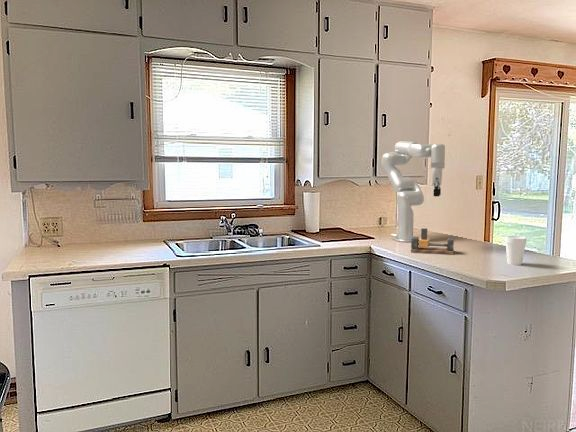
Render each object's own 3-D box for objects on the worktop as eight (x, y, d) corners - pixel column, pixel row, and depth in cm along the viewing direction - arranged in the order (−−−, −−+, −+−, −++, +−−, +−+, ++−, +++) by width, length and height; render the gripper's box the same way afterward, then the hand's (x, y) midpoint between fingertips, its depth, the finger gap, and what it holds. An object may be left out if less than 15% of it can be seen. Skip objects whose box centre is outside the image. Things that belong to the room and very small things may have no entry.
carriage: (418, 247, 264) (419, 229, 263) (420, 245, 271) (420, 227, 270) (428, 248, 262) (428, 229, 261) (429, 246, 269) (429, 228, 268)
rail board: (410, 252, 264) (411, 239, 263) (413, 248, 275) (413, 235, 274) (452, 254, 256) (453, 240, 255) (453, 250, 267) (453, 237, 266)
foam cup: (500, 262, 236) (501, 236, 234) (518, 261, 236) (519, 235, 235) (510, 266, 226) (511, 239, 225) (529, 265, 227) (530, 238, 226)
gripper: (432, 165, 282) (431, 194, 284) (429, 166, 266) (429, 196, 268) (445, 165, 279) (444, 194, 281) (443, 166, 263) (443, 196, 265)
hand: (437, 195), depth 274 cm, fingers open, 9 cm apart
